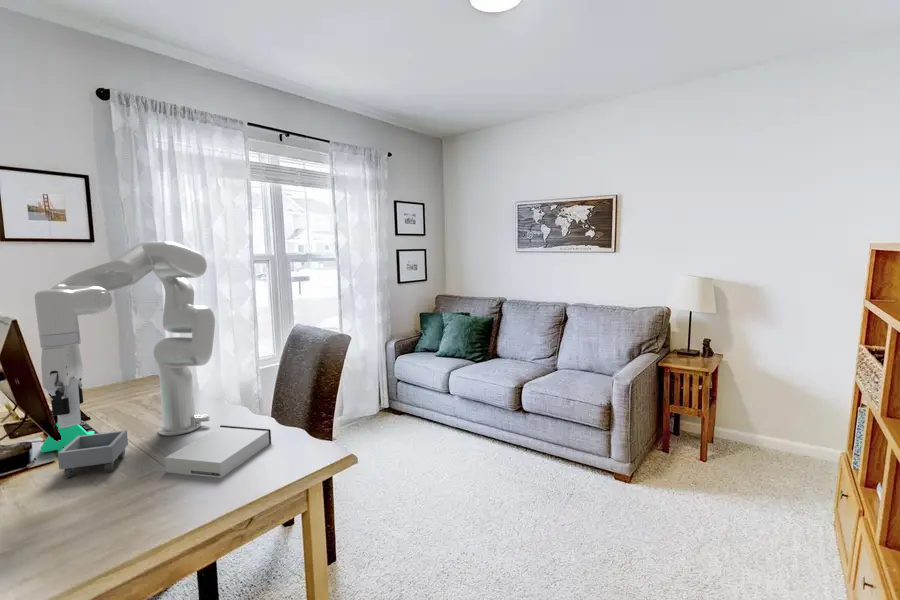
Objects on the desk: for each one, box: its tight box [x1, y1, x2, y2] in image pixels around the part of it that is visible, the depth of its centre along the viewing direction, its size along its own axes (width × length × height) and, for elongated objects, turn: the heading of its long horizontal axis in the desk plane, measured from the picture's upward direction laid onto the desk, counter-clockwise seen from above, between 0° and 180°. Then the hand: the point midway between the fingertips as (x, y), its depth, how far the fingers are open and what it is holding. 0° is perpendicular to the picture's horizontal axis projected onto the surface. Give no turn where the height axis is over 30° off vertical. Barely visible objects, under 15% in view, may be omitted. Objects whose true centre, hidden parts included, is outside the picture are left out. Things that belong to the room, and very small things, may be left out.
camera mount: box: [40, 421, 96, 454], centre depth 140 cm, size 12×8×10 cm, turn 123°
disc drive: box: [164, 424, 272, 479], centre depth 132 cm, size 18×22×5 cm
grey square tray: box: [57, 429, 129, 479], centre depth 126 cm, size 12×12×8 cm
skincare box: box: [56, 376, 82, 428], centre depth 112 cm, size 6×4×12 cm
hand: (68, 408), depth 113 cm, fingers closed on skincare box, 7 cm apart
